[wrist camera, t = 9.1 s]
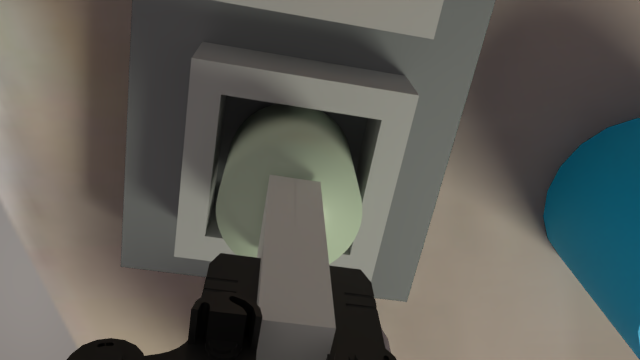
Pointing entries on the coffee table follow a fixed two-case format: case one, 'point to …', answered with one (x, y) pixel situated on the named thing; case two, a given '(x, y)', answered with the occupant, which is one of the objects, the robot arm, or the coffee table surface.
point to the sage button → (288, 175)
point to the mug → (602, 223)
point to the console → (301, 91)
